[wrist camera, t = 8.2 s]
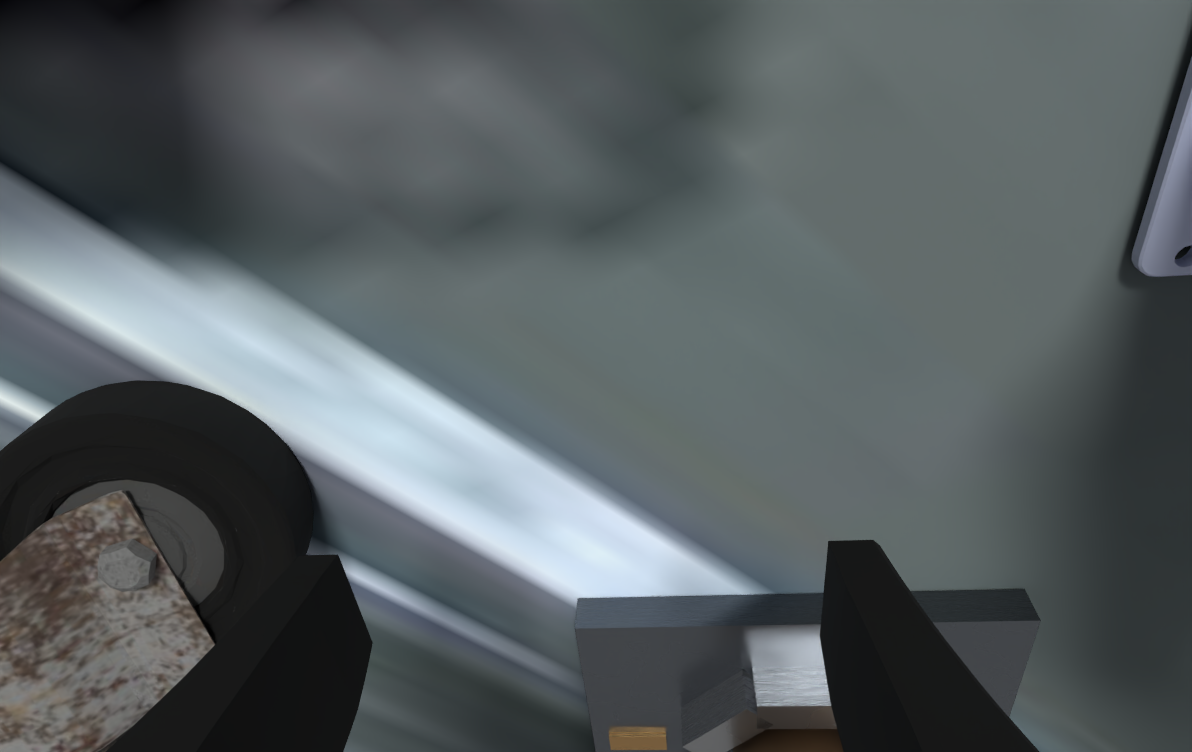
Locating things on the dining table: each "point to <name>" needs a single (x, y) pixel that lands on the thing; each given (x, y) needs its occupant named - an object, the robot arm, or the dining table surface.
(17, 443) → the caster wheel
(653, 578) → the dining table surface
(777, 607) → the hub plate
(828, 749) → the knob
